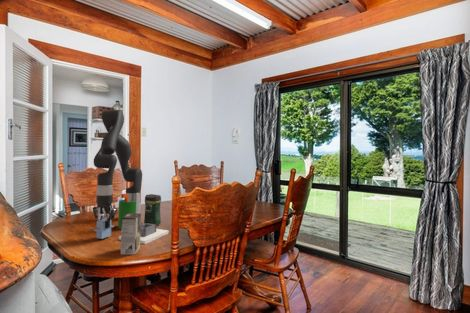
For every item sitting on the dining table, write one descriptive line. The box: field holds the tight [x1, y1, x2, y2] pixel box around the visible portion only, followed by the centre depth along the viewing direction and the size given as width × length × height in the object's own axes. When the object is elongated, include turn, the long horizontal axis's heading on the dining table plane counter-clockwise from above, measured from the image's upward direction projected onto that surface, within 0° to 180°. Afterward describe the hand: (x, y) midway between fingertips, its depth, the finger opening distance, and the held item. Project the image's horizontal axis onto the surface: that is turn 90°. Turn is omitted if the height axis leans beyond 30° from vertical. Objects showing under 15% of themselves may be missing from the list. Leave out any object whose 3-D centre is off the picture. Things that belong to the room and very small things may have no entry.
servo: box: [93, 218, 115, 240], centre depth 138 cm, size 10×4×8 cm, turn 160°
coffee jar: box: [143, 193, 162, 227], centre depth 168 cm, size 10×8×19 cm
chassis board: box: [118, 222, 169, 245], centre depth 144 cm, size 20×16×6 cm
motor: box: [117, 193, 136, 230], centre depth 159 cm, size 10×9×20 cm
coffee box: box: [120, 213, 142, 255], centre depth 123 cm, size 9×6×16 cm
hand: (104, 227), depth 138 cm, fingers closed on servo, 3 cm apart
